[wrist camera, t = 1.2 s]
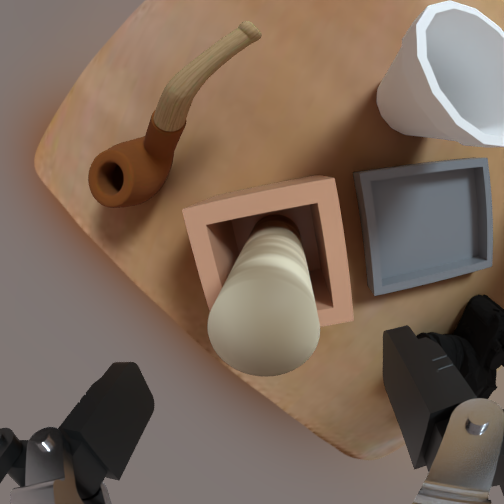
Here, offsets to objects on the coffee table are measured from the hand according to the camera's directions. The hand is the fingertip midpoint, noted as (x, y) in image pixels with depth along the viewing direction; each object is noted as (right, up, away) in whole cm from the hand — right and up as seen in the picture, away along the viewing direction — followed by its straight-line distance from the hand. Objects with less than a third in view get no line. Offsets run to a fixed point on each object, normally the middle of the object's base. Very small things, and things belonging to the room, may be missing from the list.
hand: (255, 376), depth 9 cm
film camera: (+22, -7, +21) cm, 31 cm away
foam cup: (+14, +18, +14) cm, 27 cm away
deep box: (+2, +5, +19) cm, 20 cm away
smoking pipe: (-6, +16, +17) cm, 24 cm away
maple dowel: (+2, +5, +18) cm, 19 cm away
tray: (+17, +7, +17) cm, 25 cm away
